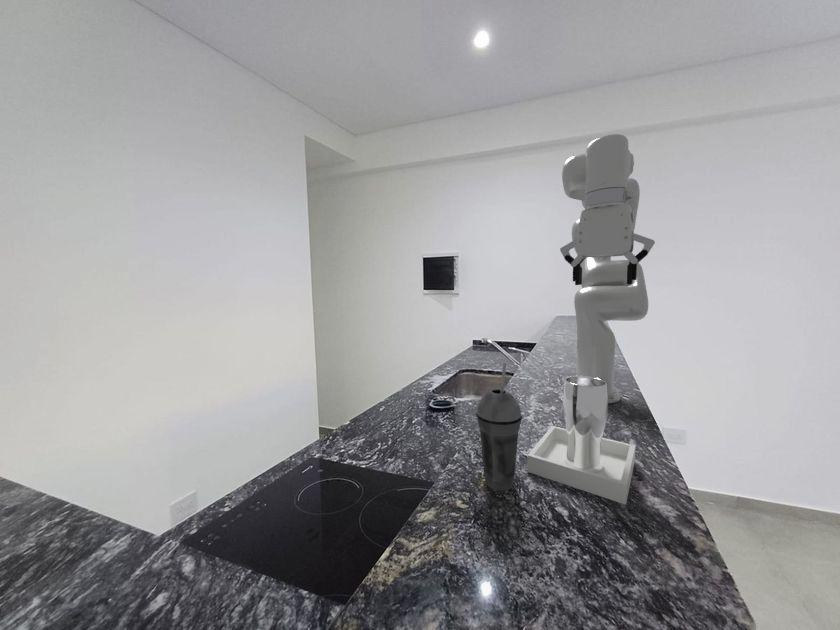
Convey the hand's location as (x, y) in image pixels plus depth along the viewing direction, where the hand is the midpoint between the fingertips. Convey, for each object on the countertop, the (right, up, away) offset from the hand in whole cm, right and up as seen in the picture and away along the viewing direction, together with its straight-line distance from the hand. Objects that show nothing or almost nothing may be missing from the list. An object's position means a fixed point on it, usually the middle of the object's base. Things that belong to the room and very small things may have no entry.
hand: (603, 284), depth 69 cm
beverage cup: (-26, -35, -15) cm, 46 cm away
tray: (-10, -34, -11) cm, 37 cm away
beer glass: (-10, -33, -11) cm, 36 cm away
